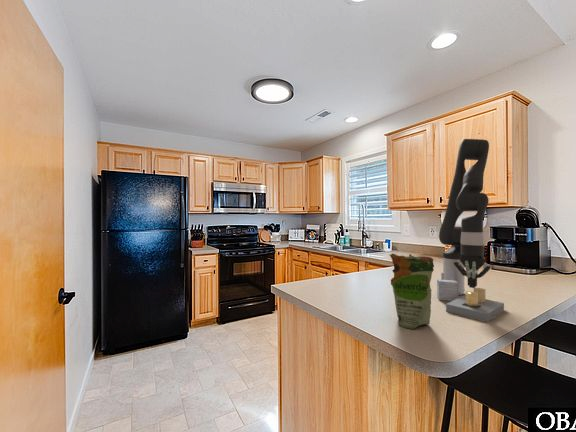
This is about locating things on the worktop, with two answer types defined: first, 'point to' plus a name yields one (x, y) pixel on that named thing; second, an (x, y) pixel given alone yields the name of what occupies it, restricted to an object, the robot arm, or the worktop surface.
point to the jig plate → (483, 313)
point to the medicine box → (447, 290)
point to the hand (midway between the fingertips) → (472, 287)
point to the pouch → (412, 289)
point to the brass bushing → (472, 299)
